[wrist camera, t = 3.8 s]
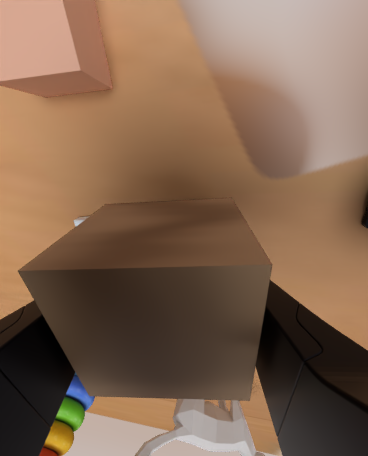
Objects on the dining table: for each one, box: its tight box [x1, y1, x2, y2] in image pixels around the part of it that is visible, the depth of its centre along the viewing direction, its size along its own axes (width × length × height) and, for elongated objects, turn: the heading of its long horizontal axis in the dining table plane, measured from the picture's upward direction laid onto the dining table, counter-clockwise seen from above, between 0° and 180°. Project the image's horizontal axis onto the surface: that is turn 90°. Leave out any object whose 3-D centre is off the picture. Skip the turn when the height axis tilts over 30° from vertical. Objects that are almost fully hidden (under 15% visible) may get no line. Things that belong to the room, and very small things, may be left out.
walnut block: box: [18, 198, 272, 401], centre depth 8 cm, size 6×6×5 cm
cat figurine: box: [135, 399, 265, 456], centre depth 26 cm, size 4×20×14 cm, turn 63°
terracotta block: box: [0, 0, 113, 97], centre depth 12 cm, size 6×6×5 cm
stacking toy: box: [39, 373, 95, 456], centre depth 22 cm, size 8×8×19 cm
